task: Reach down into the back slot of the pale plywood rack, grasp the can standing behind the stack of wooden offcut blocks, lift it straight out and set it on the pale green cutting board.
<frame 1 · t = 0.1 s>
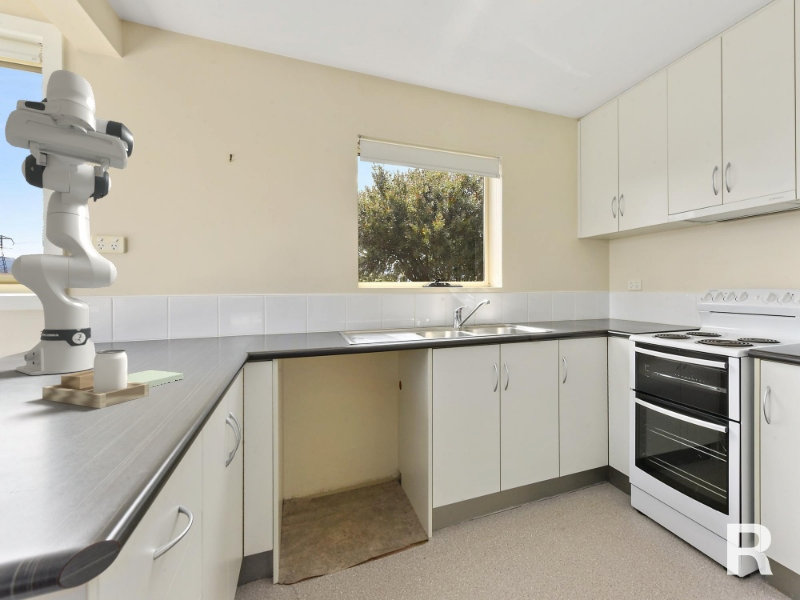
hand: (71, 169, 78), 54 cm above the countertop, tool tilted 30°, fingers open, 8 cm apart
board: (144, 382, 103), on the countertop
can: (110, 399, 86), resting in rack
rack: (97, 397, 88), on the countertop
offcut upper: (84, 385, 89), point 3 cm above the countertop, touching offcut lower
offcut lower: (84, 396, 89), resting in rack, touching offcut upper
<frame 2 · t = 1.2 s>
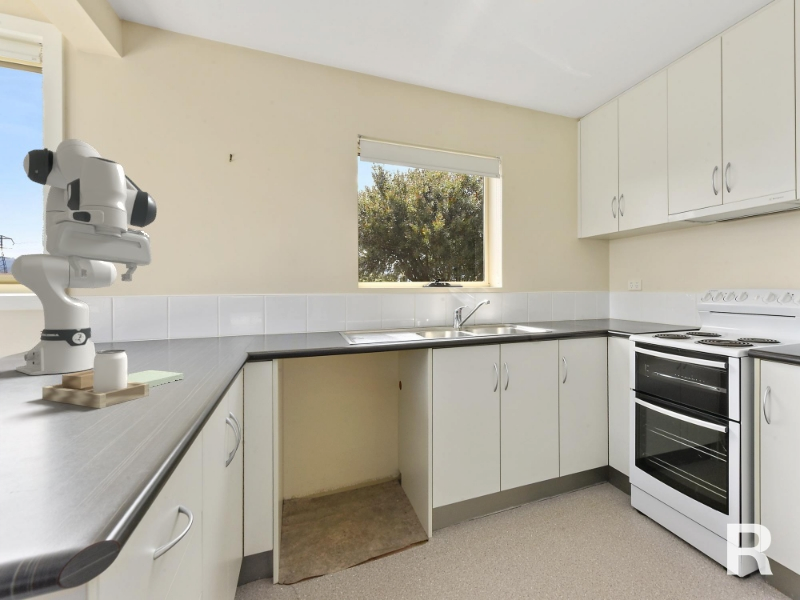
hand: (104, 279, 83), 30 cm above the countertop, tool pointing down, fingers open, 8 cm apart
nothing on the countertop moved.
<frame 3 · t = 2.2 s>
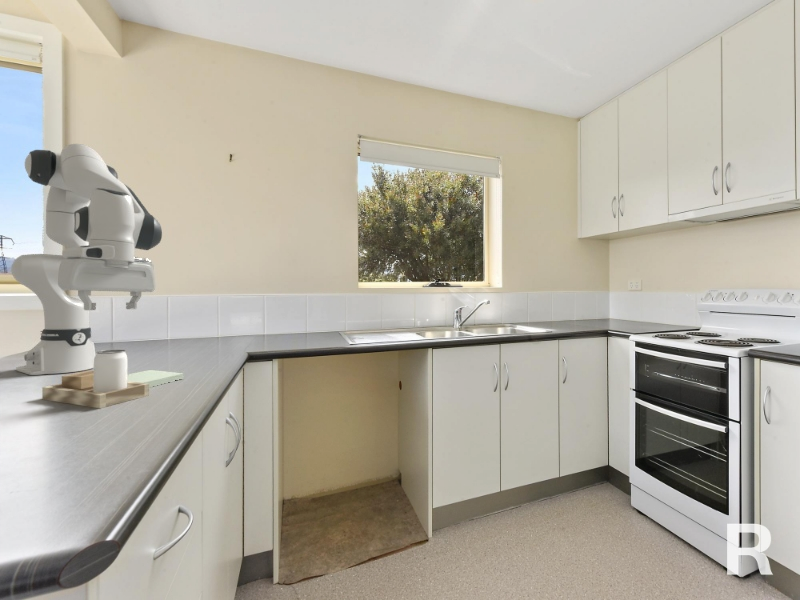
hand: (111, 309, 86), 22 cm above the countertop, tool pointing down, fingers open, 8 cm apart
nothing on the countertop moved.
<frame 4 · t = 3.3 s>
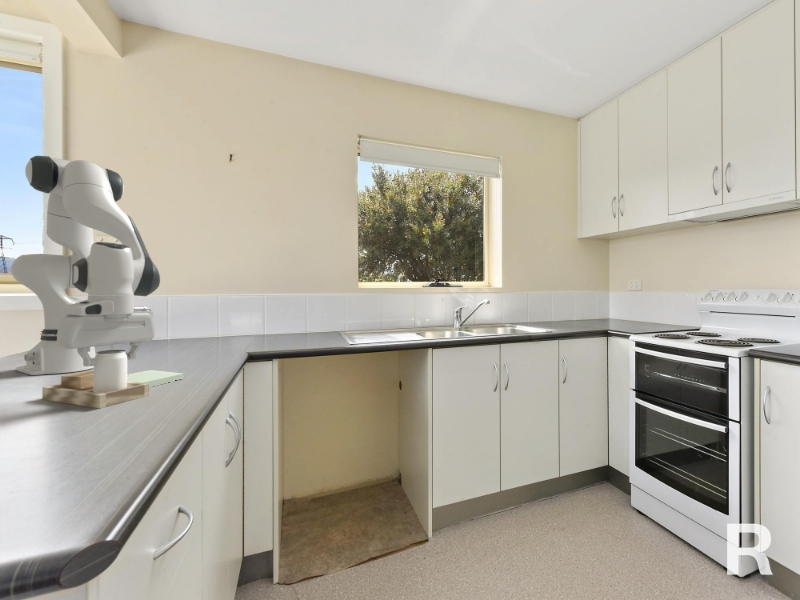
hand: (111, 362, 86), 9 cm above the countertop, tool pointing down, fingers open, 8 cm apart
nothing on the countertop moved.
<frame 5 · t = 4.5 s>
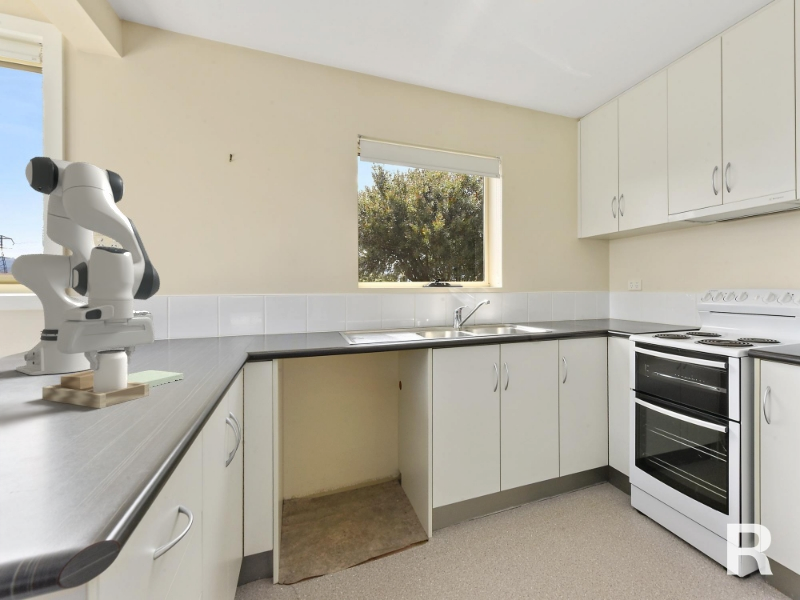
hand: (110, 366, 86), 8 cm above the countertop, tool pointing down, fingers closed on can, 5 cm apart
can: (110, 399, 86), resting in rack, touching gripper
everything else where it was.
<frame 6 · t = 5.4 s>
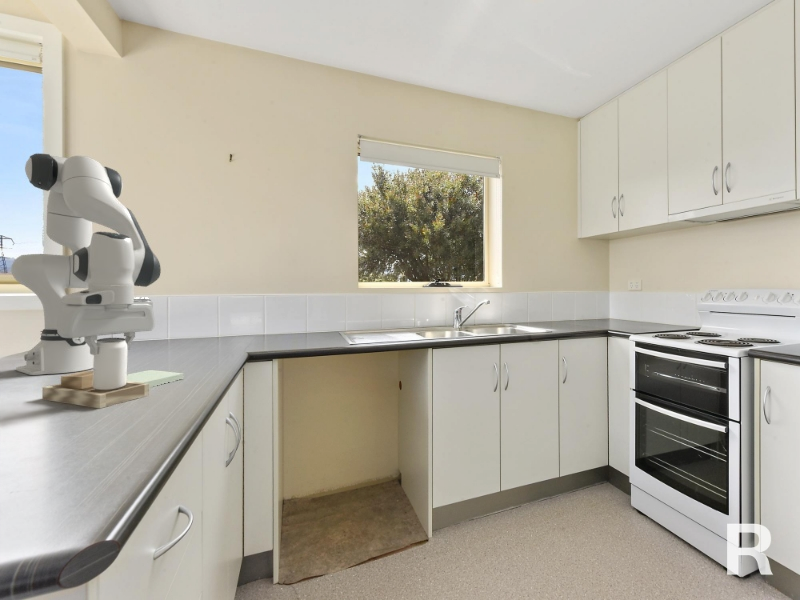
hand: (110, 352, 87), 12 cm above the countertop, tool pointing down, fingers closed on can, 5 cm apart
can: (109, 387, 87), point 3 cm above the countertop, touching gripper
offcut upper: (84, 385, 89), point 3 cm above the countertop
offcut lower: (84, 397, 89), resting in rack
when the fingers open (11 cm above the countertop, at t = 11.2 s): can moves 3 cm, resting on board.
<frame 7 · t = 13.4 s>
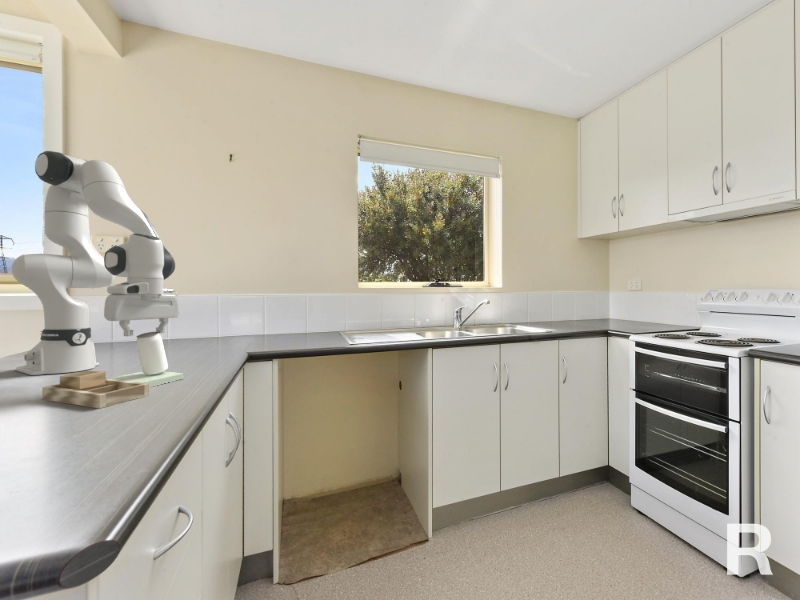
hand: (144, 334, 103), 14 cm above the countertop, tool pointing down, fingers open, 8 cm apart
can: (156, 371, 107), point 2 cm above the countertop, touching board, gripper
offcut upper: (83, 385, 89), point 3 cm above the countertop, touching offcut lower
offcut lower: (84, 397, 89), resting in rack, touching offcut upper
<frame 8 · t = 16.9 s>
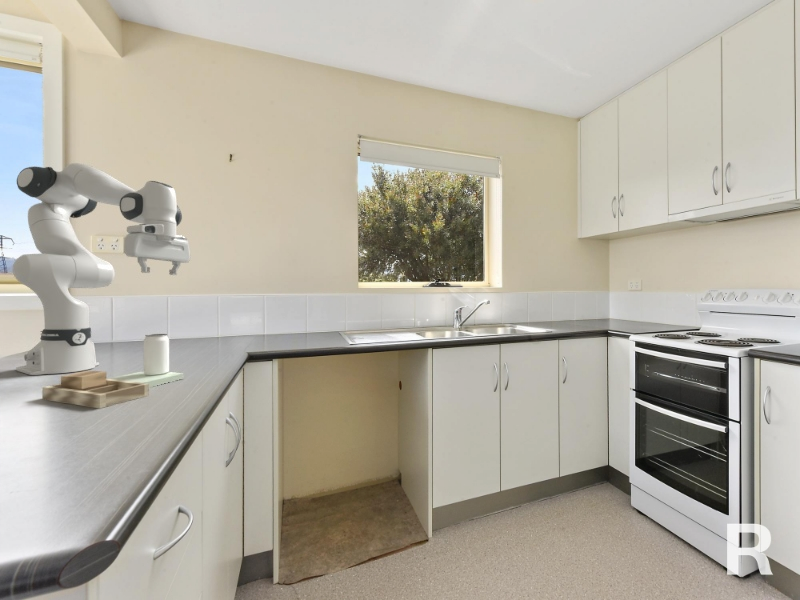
hand: (159, 273, 113), 33 cm above the countertop, tool pointing down, fingers open, 8 cm apart
can: (156, 374, 107), point 2 cm above the countertop, touching board
everything else where it was.
at the end: can 3.9 cm from the board (horizontally); can point 1.7 cm above the countertop; can tilted 1° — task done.
